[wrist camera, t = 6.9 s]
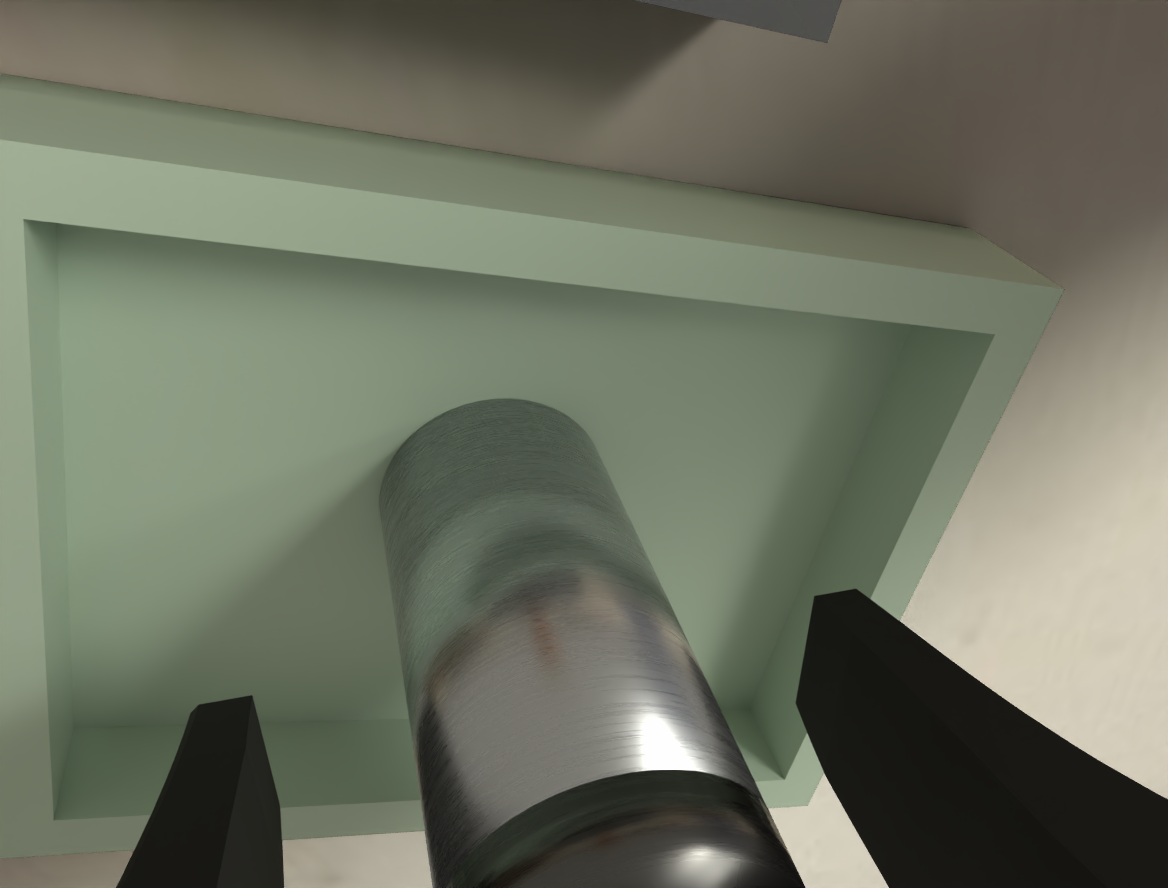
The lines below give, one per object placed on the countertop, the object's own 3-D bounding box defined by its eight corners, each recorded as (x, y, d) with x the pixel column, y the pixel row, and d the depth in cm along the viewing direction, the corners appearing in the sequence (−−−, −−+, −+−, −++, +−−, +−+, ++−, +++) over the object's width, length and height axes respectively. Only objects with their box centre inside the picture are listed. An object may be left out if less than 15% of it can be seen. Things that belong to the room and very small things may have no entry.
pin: (597, 378, 15) (831, 819, 9) (608, 558, 17) (804, 1022, 11) (359, 422, 15) (424, 928, 8) (399, 603, 17) (477, 1123, 10)
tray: (970, 228, 16) (1064, 289, 14) (760, 713, 22) (807, 805, 20) (-16, 70, 12) (-74, 128, 10) (27, 736, 17) (-4, 858, 15)
